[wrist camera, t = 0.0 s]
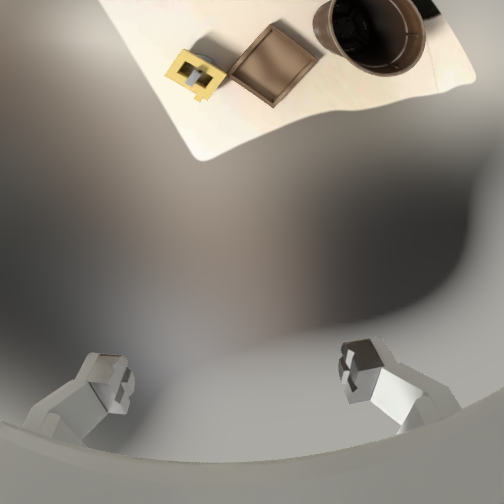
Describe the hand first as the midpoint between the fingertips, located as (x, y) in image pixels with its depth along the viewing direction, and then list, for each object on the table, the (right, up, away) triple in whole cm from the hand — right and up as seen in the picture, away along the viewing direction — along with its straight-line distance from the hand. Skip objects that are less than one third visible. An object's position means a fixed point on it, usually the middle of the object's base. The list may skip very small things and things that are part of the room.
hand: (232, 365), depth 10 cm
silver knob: (-9, +37, +36) cm, 53 cm away
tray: (+4, +39, +36) cm, 53 cm away
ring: (-9, +36, +34) cm, 50 cm away
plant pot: (+18, +47, +30) cm, 58 cm away
